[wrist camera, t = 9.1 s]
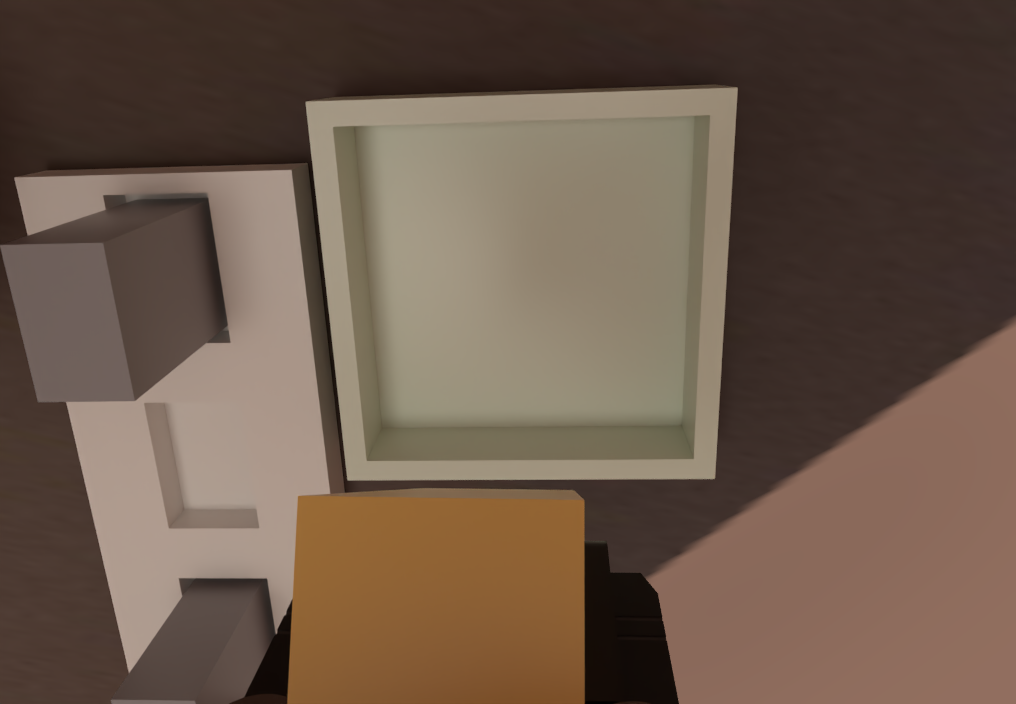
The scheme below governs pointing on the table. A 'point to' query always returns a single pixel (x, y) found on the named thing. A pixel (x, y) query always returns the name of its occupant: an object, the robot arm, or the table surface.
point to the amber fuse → (438, 598)
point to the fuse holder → (210, 399)
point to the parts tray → (527, 280)
